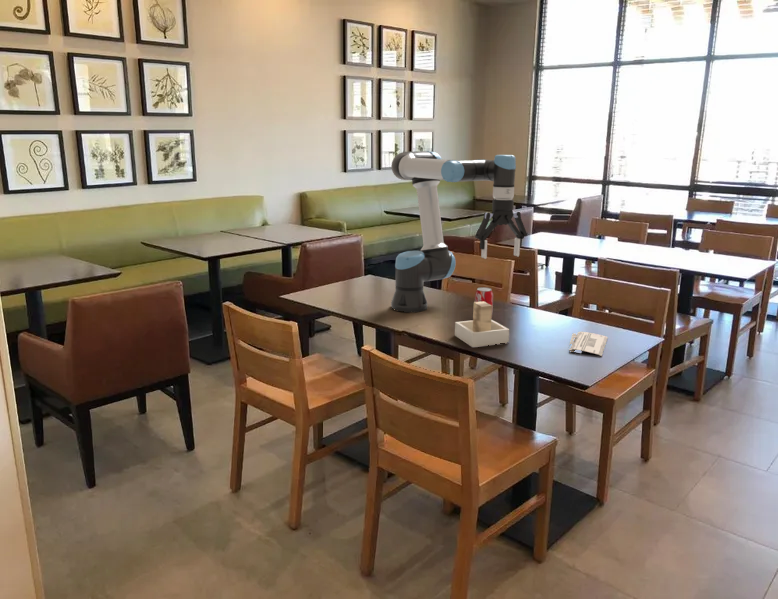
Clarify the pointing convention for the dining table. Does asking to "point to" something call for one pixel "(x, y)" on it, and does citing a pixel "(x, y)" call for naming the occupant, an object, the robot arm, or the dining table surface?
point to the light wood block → (482, 316)
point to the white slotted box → (481, 334)
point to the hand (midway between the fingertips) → (500, 256)
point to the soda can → (484, 295)
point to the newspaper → (588, 342)
